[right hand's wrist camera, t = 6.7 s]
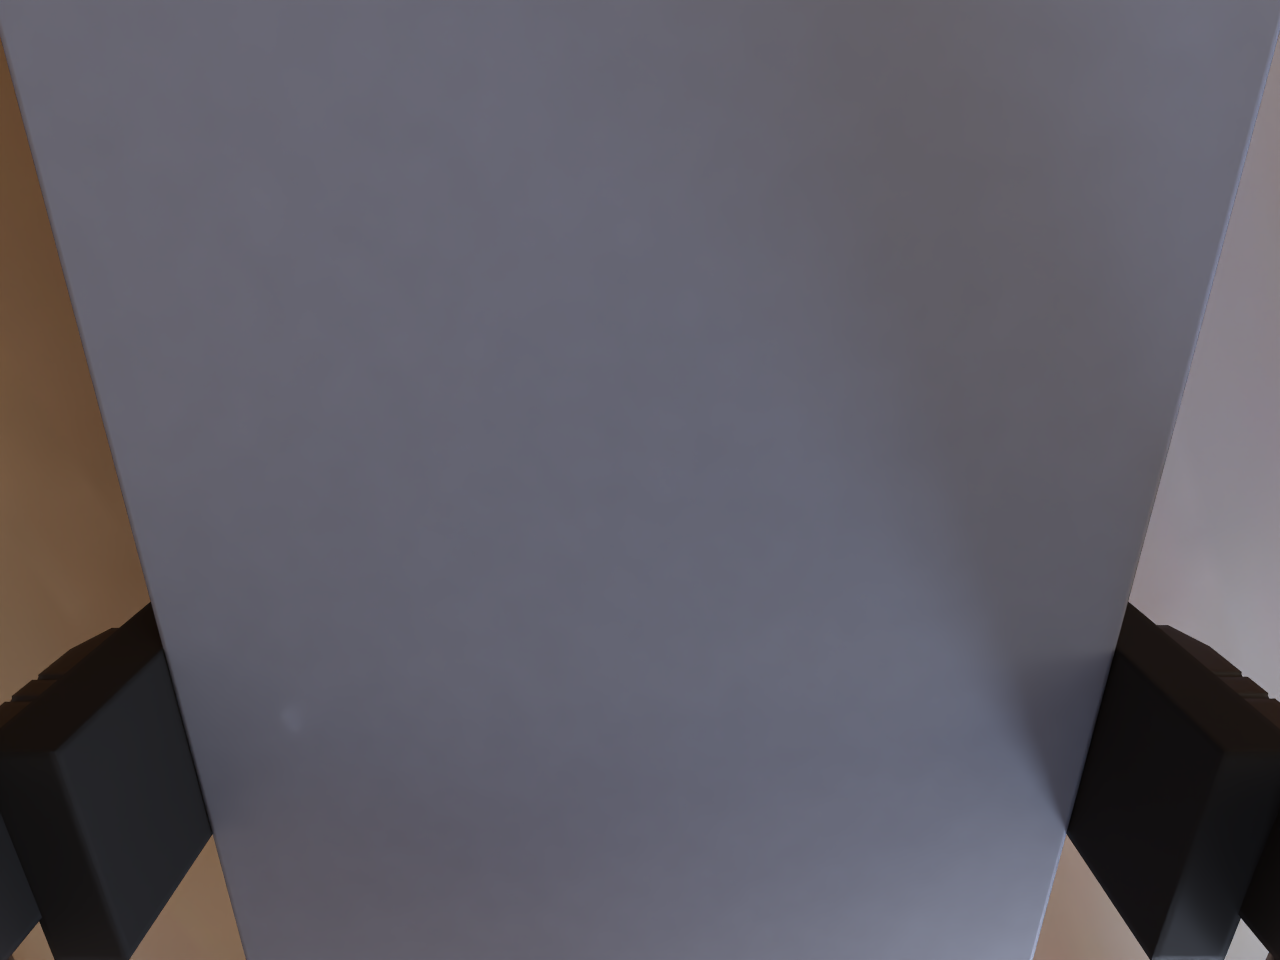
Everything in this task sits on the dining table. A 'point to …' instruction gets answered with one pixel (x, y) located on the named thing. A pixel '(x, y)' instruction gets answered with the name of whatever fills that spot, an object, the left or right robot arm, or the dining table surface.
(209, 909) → the dining table surface
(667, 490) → the grey rectangular box
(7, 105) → the dining table surface
